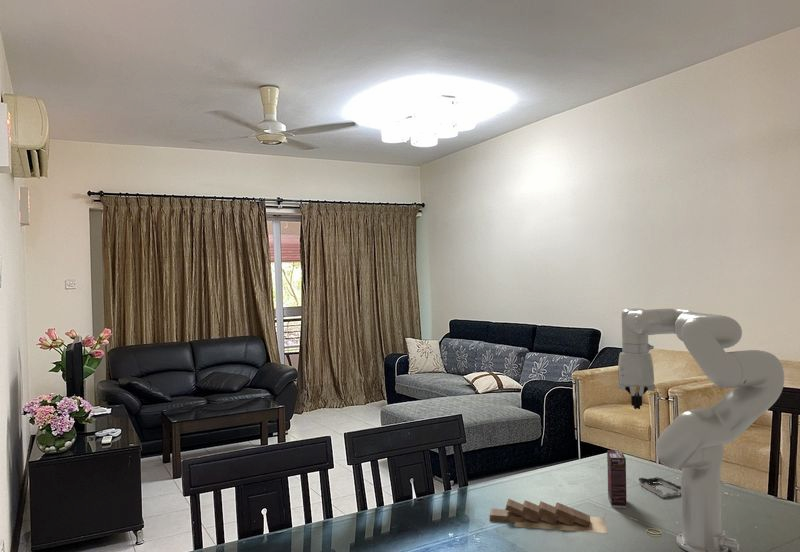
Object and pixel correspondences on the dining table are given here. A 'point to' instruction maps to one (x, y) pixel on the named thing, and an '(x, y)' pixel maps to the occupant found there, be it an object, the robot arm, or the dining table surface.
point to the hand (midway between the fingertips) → (636, 407)
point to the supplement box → (616, 478)
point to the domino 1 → (505, 516)
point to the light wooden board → (595, 525)
